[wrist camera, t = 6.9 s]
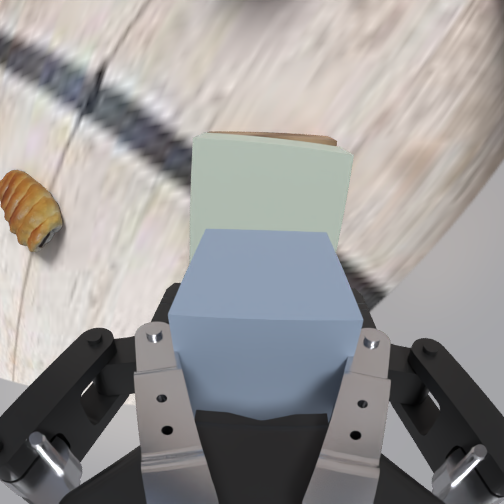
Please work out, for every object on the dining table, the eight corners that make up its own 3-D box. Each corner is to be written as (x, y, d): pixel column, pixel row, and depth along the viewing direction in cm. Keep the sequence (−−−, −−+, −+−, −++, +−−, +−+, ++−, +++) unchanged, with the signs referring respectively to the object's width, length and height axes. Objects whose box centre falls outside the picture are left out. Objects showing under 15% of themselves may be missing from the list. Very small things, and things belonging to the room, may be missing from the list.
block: (326, 232, 13) (363, 320, 8) (313, 328, 15) (330, 429, 10) (205, 228, 13) (167, 314, 8) (211, 325, 16) (189, 425, 10)
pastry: (0, 193, 29) (-21, 204, 26) (24, 152, 27) (1, 160, 24) (45, 251, 32) (27, 266, 28) (73, 214, 30) (54, 228, 27)
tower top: (340, 146, 23) (353, 154, 19) (319, 266, 27) (326, 292, 23) (204, 132, 23) (193, 138, 19) (199, 255, 27) (189, 279, 23)
